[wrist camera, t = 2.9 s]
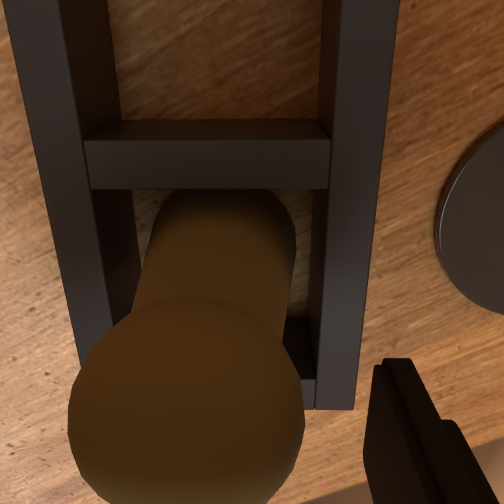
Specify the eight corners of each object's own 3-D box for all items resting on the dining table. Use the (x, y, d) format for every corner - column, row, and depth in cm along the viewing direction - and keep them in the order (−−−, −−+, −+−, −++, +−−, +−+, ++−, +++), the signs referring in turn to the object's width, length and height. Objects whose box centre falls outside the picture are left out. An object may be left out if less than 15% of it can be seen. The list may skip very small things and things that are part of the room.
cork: (136, 282, 19) (-1, 533, 9) (174, 152, 17) (43, 303, 7) (265, 324, 20) (266, 598, 10) (320, 205, 18) (392, 411, 8)
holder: (386, -200, 13) (434, -300, 9) (338, 346, 20) (353, 411, 17) (31, -190, 13) (-61, -284, 9) (119, 344, 21) (88, 407, 17)
